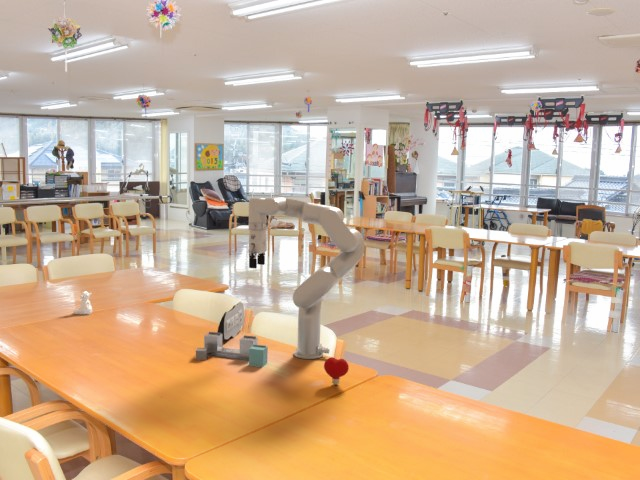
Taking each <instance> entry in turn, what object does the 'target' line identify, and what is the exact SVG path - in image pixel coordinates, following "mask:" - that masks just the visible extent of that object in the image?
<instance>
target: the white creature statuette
mask: <svg viewBox="0 0 640 480" xmlns="http://www.w3.org/2000/svg"><path fill="white" fill-rule="evenodd" d="M91 295H92V292H88V291H86V290H85V291H82V292H81V294H80V299H81V302H80V308H76V309H73V314H74V315H85V316H86V315H87V316H88V315H91V314H92V313H93V307H92V303H91V301H90V300H89V299H90V296H91Z"/></svg>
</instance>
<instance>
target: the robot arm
mask: <svg viewBox="0 0 640 480" xmlns="http://www.w3.org/2000/svg"><path fill="white" fill-rule="evenodd" d="M267 216H269V217H275V216H276V217H277V216H287V217H293V218H296V219H299V220H301V222H302V223H306V224H311V225H316V226H320V227H321V228H322V229H323V231H324V232H325V234H326V235H327V236H328V238H329V239H330V240H331V242H332V243H333V244H334V246H335V247H336V248H337V249H338V250H339V251H340V252H339V253H338V254H337V255H335V256H334V257H333V258H332V259H331V260H330V261H329V262H328V263H326V264H325V265H323V266H322V267H320V268H319V269H317V270H315V272H313V273H312V274H311V275H310V276H309V277H308V278H307V279H306V280H304V281H303V282H302V283H300V285H298V286H297V287H296V288H295V289H294V292H293V294H292V301H293V304H294V305H295V306H296V307H297V308H298V316H297V349H294V350H293V355H294V356H295V358H298V359H302V360H303V359H304V360H315V359H320V358H321V357H323V356H324V354H328V355H329V354H330V348H328V347H324V346H323V345H322V344H323V343H321V318H322V317H321V316H322V315H321V314H322V303H323V297H324V296H326V295H327V294H328V293H329V292H330V291H331V290H332V289H333V288H335V287H336V285H337V284H338V283H339V282H340V281H341V280H342V279H343V278H344V277H345V276H346V275H348V274H349V273H350V272H351V271H352V270H353V269H354V268H355V267H356V266H357V265H358V263H359V262H360V261H361V259H362V257H363V255H364V251H365V240H364V236H363V235H362V233H361V232H360V231H359V230H357V229H354V228H349V227H348V226H347V225H346V223H345V222H344V220H345V219H344V218H345V215H344V212H343V210H342V209H340V208H338V207H336V206H329V205H326V204H319V203H313V202H308V201H302V200H297V199H293V198H288V197H287V198H286V197H281V196H280V197H279V196H278V197H271V198H265V197H251V198H249V200H248V231H249V235H248V237H249V238H248V250H247V251H248V268H249V269H257V265H265V263H266V252H267V249H268V248H267V247H268V246H267V245H268V244H267Z"/></svg>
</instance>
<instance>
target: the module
mask: <svg viewBox="0 0 640 480" xmlns="http://www.w3.org/2000/svg"><path fill="white" fill-rule="evenodd" d="M267 364H268V346H267V345H263V344H258V345H256V344H254V345H253V346H252V347H251V348H249V360H248V366H251V367H258V366H259V368H264V367H265V366H266V365H267Z"/></svg>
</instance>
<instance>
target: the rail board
mask: <svg viewBox="0 0 640 480" xmlns="http://www.w3.org/2000/svg"><path fill="white" fill-rule="evenodd" d="M217 332H218V331H217ZM217 332H215V331H214V332H213V331H209V332H208V333H206V334H205V335H203V337H204V341H203V348H207V357H215V358H216V357H217V358H225V359H231V360H232V359H234V360H243V361H249V348H251V347H252V346H253V345H254V344H256V345H259V344H258V336H254V335H243V336H242V337H240V339H239V349H237V348H229V347H223V339H222V334H221V333H217Z"/></svg>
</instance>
